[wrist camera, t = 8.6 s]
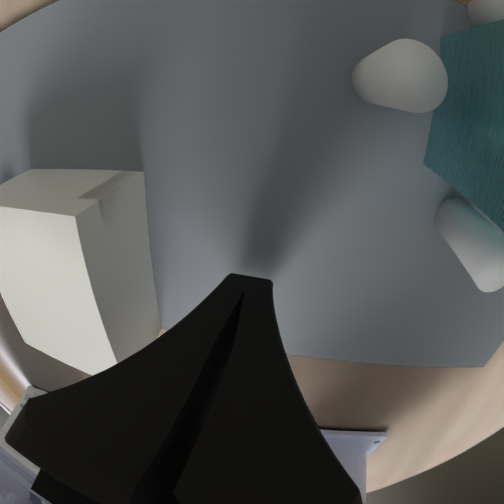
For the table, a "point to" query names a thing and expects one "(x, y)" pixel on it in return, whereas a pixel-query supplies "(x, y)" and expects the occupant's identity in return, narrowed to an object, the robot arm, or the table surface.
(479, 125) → the teal block
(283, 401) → the robot arm
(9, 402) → the table surface
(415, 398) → the table surface
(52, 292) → the block
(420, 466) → the table surface
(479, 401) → the table surface
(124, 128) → the base plate
